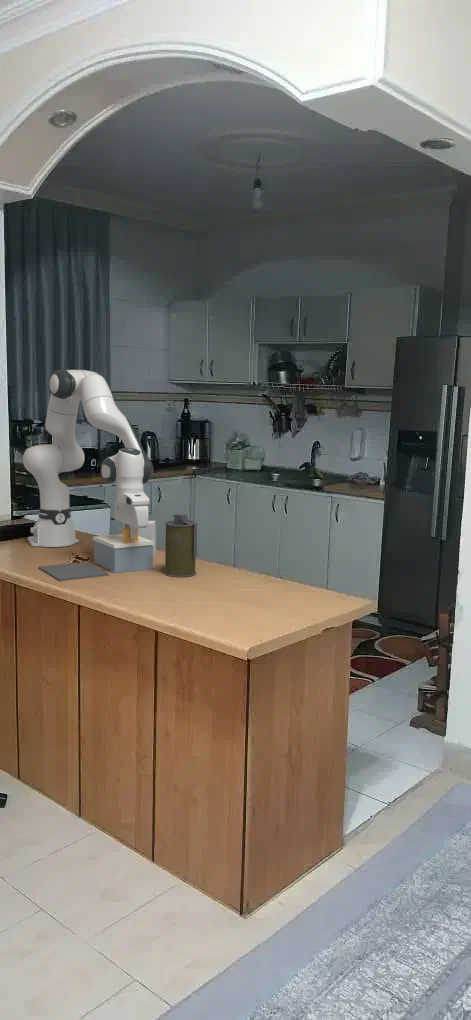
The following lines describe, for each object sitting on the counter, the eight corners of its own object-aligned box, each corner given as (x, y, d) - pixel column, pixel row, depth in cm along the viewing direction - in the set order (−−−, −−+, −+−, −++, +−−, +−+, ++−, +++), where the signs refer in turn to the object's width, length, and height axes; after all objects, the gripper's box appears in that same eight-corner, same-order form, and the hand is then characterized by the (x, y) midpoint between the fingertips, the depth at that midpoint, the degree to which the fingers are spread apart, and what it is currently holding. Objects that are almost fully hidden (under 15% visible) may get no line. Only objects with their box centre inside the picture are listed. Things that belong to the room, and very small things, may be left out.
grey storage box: (94, 562, 278) (94, 540, 277) (130, 558, 286) (130, 536, 284) (114, 573, 263) (114, 549, 262) (152, 568, 271) (152, 545, 269)
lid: (92, 542, 277) (92, 523, 276) (131, 539, 285) (130, 521, 284) (114, 551, 262) (114, 531, 261) (154, 547, 269) (153, 528, 268)
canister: (158, 574, 262) (159, 515, 259) (175, 568, 271) (175, 511, 268) (186, 579, 257) (187, 518, 254) (202, 572, 266) (203, 514, 263)
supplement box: (156, 553, 295) (156, 520, 293) (152, 557, 288) (152, 523, 286) (136, 553, 296) (137, 519, 294) (132, 557, 289) (132, 522, 287)
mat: (38, 568, 268) (38, 566, 268) (86, 563, 277) (86, 561, 277) (59, 580, 251) (58, 579, 251) (108, 575, 260) (108, 573, 260)
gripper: (109, 493, 273) (109, 532, 275) (134, 501, 256) (134, 543, 258) (126, 492, 276) (125, 531, 278) (152, 500, 259) (151, 541, 261)
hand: (130, 537), depth 268 cm, fingers closed on lid, 2 cm apart
